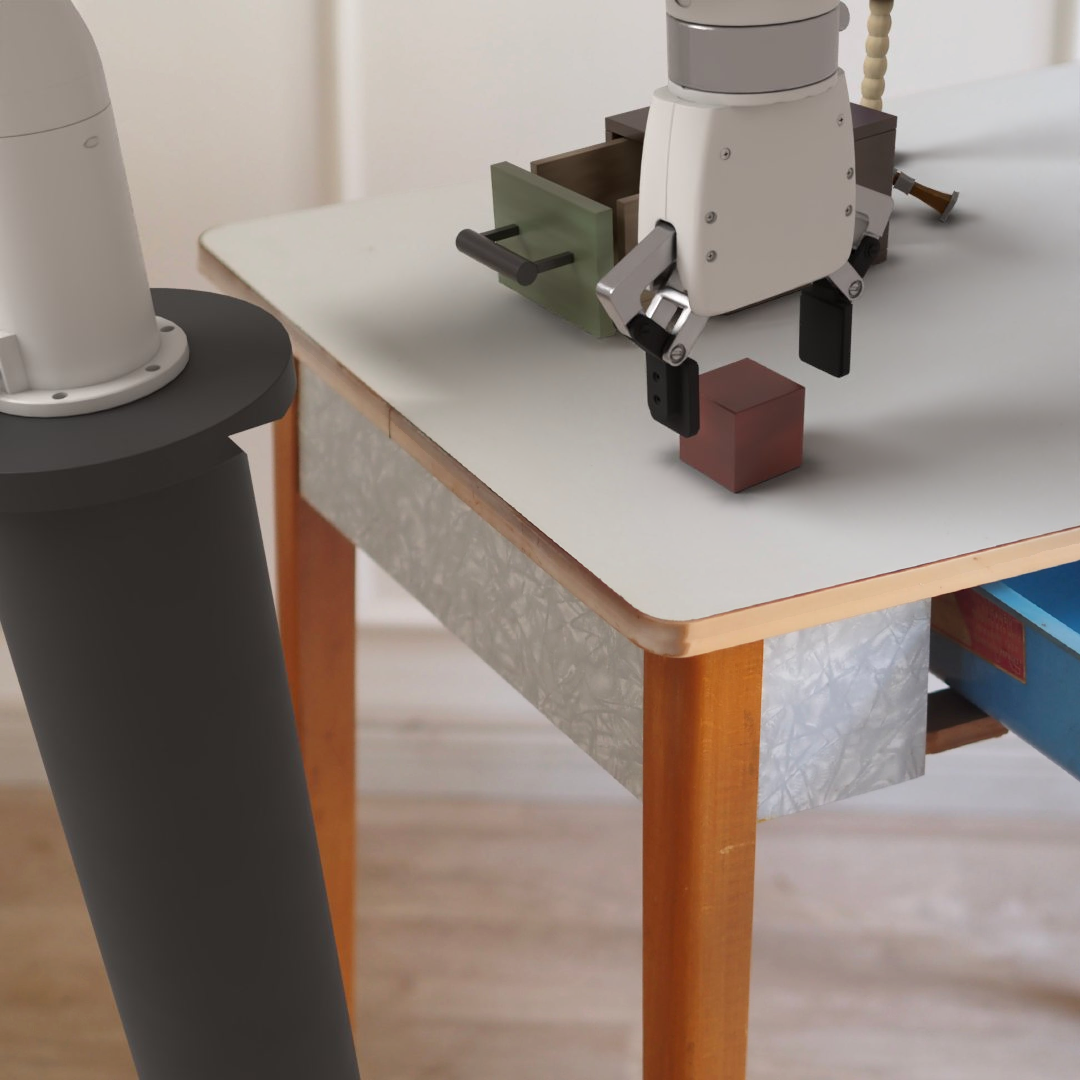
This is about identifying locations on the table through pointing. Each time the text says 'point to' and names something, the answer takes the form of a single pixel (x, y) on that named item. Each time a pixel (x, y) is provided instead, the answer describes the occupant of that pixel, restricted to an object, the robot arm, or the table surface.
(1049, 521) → the table surface
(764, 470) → the block
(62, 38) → the robot arm
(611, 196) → the drawer
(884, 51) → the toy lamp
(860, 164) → the cabinet
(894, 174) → the wooden post with brackets
